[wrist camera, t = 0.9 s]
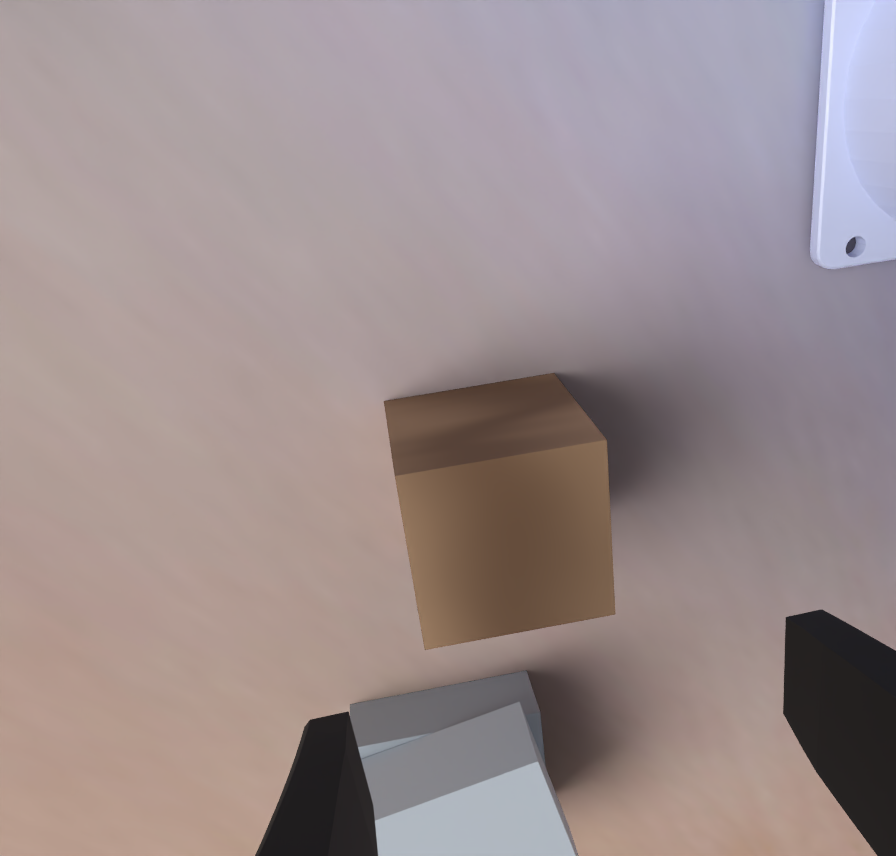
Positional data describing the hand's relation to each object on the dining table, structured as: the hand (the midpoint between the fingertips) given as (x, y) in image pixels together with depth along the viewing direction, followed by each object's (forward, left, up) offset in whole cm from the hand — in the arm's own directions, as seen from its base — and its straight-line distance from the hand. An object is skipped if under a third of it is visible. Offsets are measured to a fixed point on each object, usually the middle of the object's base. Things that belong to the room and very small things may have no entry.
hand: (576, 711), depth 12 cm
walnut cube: (0, 0, -10) cm, 10 cm away
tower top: (+2, +10, -8) cm, 13 cm away
